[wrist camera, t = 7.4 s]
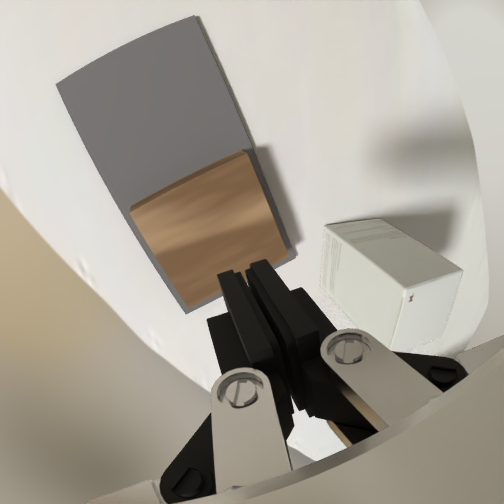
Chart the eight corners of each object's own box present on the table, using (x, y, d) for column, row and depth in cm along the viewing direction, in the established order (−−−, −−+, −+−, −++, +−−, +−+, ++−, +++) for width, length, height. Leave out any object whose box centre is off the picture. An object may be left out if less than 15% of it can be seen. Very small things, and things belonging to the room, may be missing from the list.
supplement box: (317, 287, 34) (383, 364, 23) (322, 223, 31) (405, 287, 20) (372, 276, 36) (442, 338, 25) (381, 216, 33) (466, 268, 22)
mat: (294, 256, 32) (295, 257, 31) (185, 312, 31) (186, 314, 30) (193, 16, 20) (194, 15, 19) (57, 84, 19) (55, 84, 19)
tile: (240, 149, 25) (280, 247, 30) (130, 205, 25) (185, 296, 30) (247, 152, 24) (288, 256, 29) (129, 212, 23) (188, 308, 28)
